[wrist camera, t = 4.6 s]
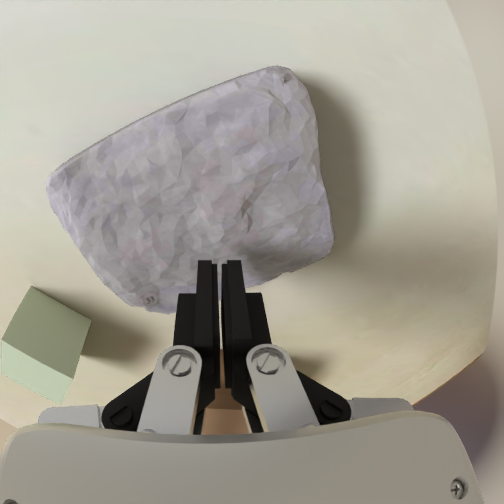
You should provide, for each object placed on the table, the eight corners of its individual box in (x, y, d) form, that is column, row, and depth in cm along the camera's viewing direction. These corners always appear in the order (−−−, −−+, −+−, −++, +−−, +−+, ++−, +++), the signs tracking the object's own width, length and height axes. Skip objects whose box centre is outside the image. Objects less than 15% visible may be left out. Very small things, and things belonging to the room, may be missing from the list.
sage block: (92, 319, 18) (73, 378, 14) (75, 352, 20) (60, 404, 16) (31, 285, 16) (1, 339, 12) (23, 323, 18) (0, 373, 14)
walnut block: (269, 352, 22) (280, 410, 18) (253, 386, 24) (260, 437, 20) (202, 346, 21) (202, 408, 16) (195, 382, 23) (195, 435, 19)
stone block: (325, 207, 18) (278, 43, 11) (355, 267, 14) (314, 60, 7) (151, 271, 19) (55, 153, 12) (146, 334, 16) (15, 210, 9)
